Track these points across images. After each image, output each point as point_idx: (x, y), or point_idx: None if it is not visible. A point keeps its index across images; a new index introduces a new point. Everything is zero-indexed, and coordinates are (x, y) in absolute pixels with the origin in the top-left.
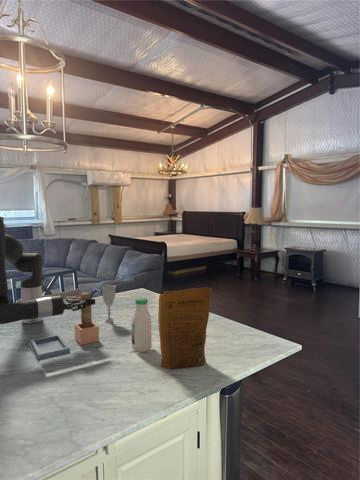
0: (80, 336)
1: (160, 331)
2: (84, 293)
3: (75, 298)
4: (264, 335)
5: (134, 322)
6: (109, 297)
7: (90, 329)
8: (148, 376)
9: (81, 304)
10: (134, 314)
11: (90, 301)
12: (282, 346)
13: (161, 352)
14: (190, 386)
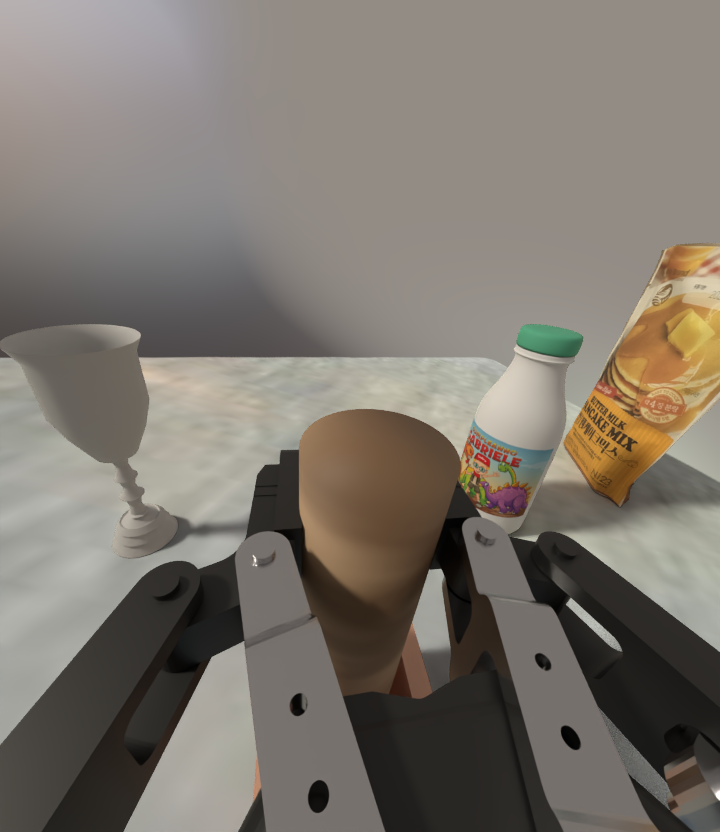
0: None
1: (700, 414)
2: (343, 454)
3: (326, 666)
4: (442, 360)
5: (555, 440)
6: (140, 405)
7: (421, 667)
8: (707, 555)
9: (389, 615)
10: (549, 409)
11: (461, 492)
12: (488, 364)
13: (642, 472)
14: (712, 493)
